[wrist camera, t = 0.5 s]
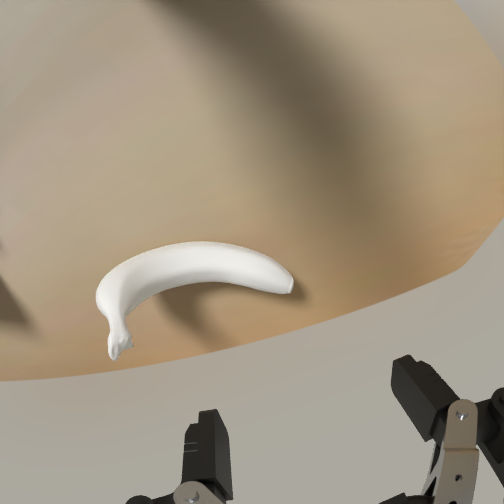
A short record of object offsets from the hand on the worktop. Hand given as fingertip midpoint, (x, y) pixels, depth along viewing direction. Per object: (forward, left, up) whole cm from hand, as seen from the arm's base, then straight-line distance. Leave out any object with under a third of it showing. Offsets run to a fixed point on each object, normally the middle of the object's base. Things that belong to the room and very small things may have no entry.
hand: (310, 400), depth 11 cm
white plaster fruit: (+4, -5, -23) cm, 24 cm away
